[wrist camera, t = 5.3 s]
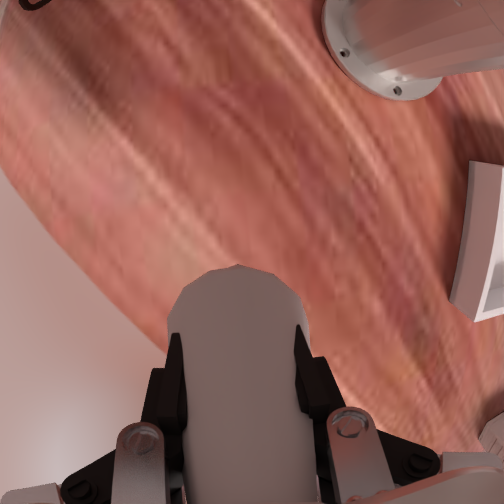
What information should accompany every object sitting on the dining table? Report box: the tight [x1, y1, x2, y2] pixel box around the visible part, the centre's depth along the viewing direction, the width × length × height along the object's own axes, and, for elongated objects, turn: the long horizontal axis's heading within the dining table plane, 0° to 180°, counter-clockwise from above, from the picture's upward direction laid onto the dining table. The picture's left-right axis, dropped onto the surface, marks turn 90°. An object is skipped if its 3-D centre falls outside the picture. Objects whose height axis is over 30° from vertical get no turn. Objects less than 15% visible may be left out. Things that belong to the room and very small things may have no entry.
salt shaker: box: [167, 264, 324, 504], centre depth 9 cm, size 6×6×13 cm
